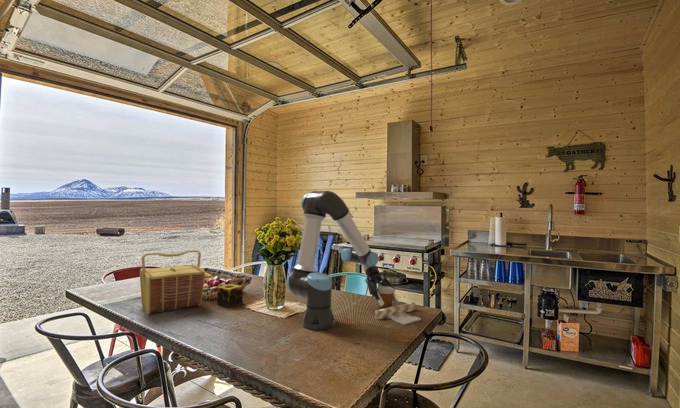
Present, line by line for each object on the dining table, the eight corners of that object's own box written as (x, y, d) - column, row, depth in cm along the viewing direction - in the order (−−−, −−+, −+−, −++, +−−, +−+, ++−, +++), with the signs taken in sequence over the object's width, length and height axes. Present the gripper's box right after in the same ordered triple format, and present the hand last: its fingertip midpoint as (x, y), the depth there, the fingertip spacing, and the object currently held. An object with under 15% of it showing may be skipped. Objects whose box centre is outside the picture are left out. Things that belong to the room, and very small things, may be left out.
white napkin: (404, 325, 155) (404, 323, 155) (386, 317, 164) (386, 315, 164) (421, 320, 162) (421, 318, 162) (403, 313, 171) (403, 311, 171)
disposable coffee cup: (395, 313, 172) (395, 290, 172) (377, 312, 172) (377, 290, 172) (392, 307, 181) (393, 286, 182) (375, 307, 182) (376, 285, 182)
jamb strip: (377, 319, 161) (377, 311, 161) (374, 318, 163) (374, 310, 163) (415, 310, 178) (415, 302, 178) (412, 309, 179) (412, 301, 179)
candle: (243, 303, 184) (243, 285, 184) (228, 308, 176) (228, 289, 176) (231, 300, 190) (231, 283, 190) (216, 304, 181) (216, 286, 181)
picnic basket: (144, 319, 156) (145, 256, 156) (136, 305, 176) (137, 250, 176) (206, 308, 175) (208, 252, 175) (193, 297, 195) (194, 247, 195)
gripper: (381, 271, 196) (400, 303, 183) (352, 274, 183) (370, 310, 170) (387, 263, 192) (407, 296, 179) (358, 267, 179) (377, 303, 166)
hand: (389, 303), depth 174 cm, fingers closed on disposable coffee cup, 9 cm apart
